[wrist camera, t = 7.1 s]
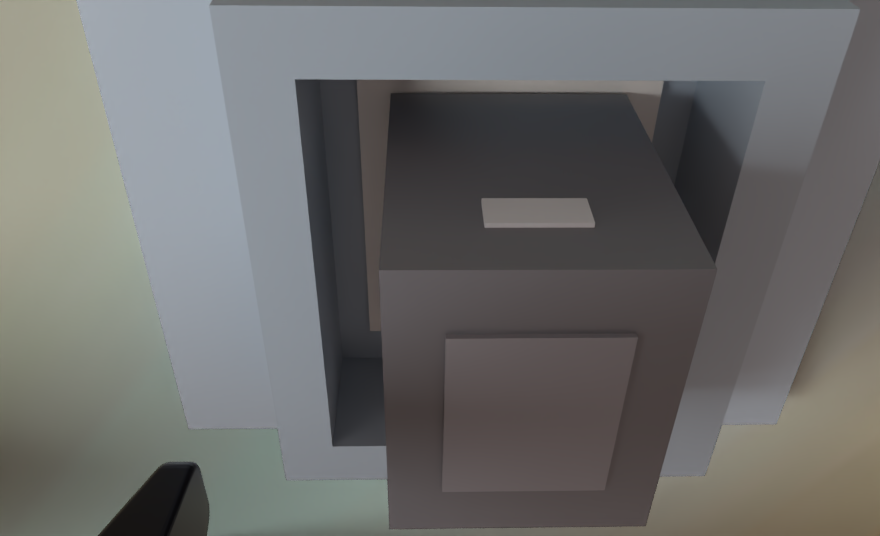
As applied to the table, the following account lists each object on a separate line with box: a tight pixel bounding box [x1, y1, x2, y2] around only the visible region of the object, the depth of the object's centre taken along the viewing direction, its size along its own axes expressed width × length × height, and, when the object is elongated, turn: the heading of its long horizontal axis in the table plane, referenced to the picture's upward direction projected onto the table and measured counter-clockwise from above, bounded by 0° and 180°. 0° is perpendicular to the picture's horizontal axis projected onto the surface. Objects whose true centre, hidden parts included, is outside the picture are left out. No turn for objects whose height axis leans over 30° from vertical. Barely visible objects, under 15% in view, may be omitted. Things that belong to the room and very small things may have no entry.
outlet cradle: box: [76, 0, 880, 480], centre depth 14 cm, size 14×12×4 cm
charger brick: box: [379, 93, 718, 529], centre depth 13 cm, size 4×5×5 cm
